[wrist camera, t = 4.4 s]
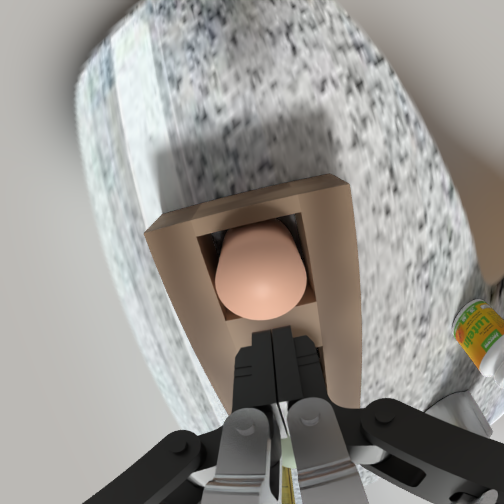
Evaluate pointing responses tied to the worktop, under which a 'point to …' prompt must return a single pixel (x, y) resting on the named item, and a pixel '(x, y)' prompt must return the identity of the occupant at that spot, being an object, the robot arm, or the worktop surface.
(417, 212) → the worktop surface
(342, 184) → the panel
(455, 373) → the worktop surface
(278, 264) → the button terracotta
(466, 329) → the supplement bottle
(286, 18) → the worktop surface
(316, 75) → the worktop surface
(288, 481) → the sauce bottle
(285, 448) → the button sage
